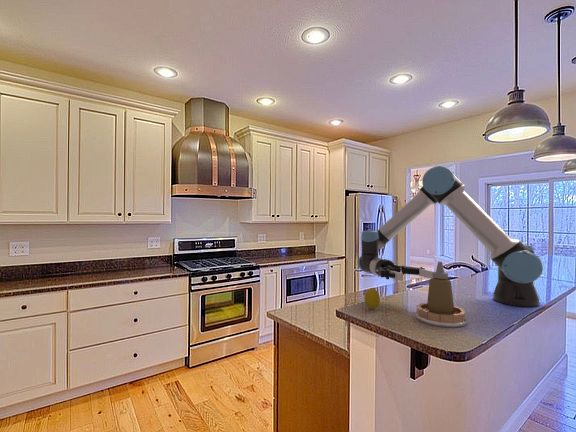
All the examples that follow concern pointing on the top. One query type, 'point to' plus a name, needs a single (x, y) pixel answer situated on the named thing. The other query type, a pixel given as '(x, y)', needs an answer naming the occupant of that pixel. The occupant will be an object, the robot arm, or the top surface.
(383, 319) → the top surface
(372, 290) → the lemon
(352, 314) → the top surface
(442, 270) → the squeeze bottle
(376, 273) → the robot arm
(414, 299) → the top surface
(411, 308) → the top surface
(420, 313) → the flange seat
